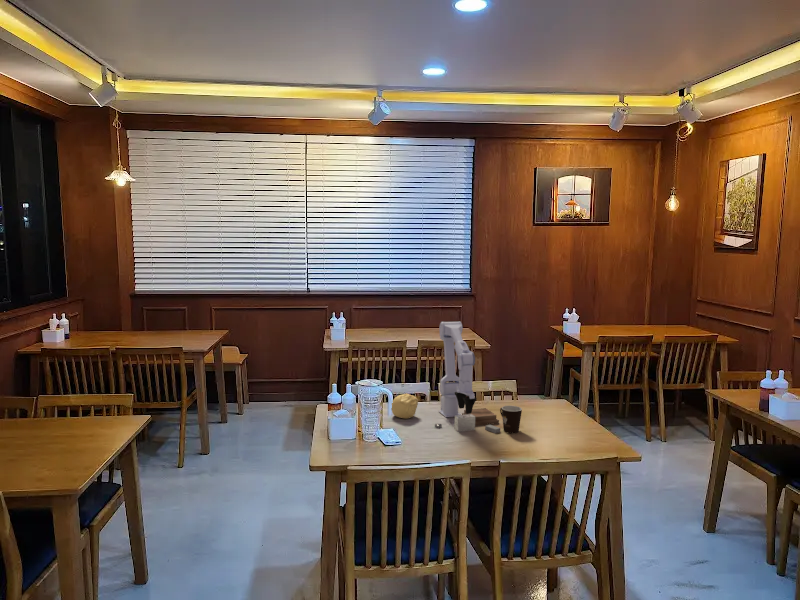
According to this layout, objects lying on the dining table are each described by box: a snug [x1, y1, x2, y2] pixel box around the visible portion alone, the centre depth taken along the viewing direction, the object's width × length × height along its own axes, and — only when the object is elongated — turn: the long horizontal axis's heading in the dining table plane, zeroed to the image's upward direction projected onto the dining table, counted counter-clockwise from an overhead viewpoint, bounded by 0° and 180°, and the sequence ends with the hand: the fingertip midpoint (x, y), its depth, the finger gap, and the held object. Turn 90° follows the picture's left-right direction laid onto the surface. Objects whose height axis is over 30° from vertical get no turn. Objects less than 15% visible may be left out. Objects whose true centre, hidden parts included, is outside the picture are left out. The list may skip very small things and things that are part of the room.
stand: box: [461, 407, 500, 427], centre depth 256 cm, size 14×12×4 cm
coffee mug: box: [499, 405, 523, 434], centre depth 243 cm, size 12×9×10 cm
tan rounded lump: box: [390, 392, 419, 420], centre depth 260 cm, size 12×12×11 cm
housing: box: [453, 414, 476, 433], centre depth 243 cm, size 4×8×6 cm, turn 107°
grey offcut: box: [484, 424, 501, 434], centre depth 242 cm, size 6×3×2 cm, turn 39°
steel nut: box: [434, 423, 443, 429], centre depth 246 cm, size 3×3×1 cm
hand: (465, 410), depth 243 cm, fingers open, 7 cm apart
